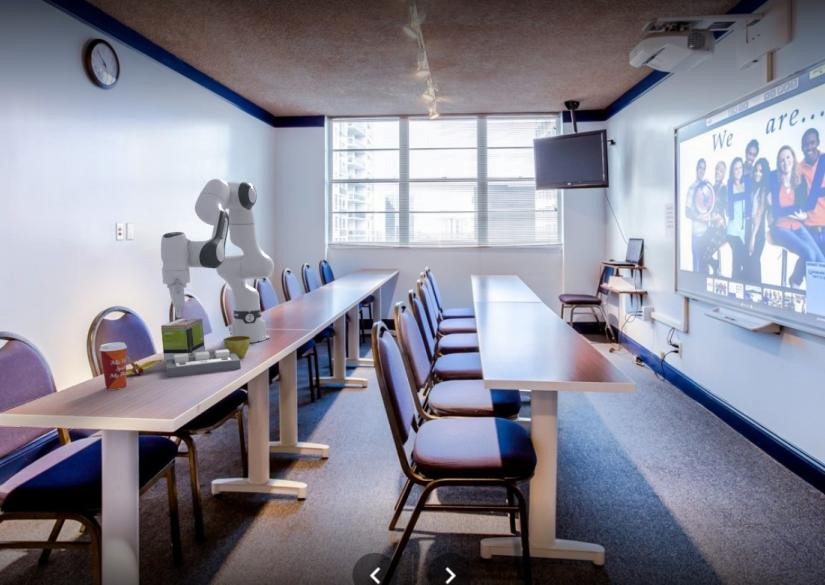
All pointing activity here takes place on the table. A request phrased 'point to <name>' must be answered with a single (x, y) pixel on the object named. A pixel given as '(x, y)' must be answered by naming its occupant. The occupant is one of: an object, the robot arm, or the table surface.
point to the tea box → (182, 338)
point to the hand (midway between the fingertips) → (178, 316)
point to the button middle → (202, 356)
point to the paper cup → (114, 364)
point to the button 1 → (181, 358)
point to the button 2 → (222, 353)
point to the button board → (202, 365)
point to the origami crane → (140, 366)
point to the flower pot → (237, 344)
